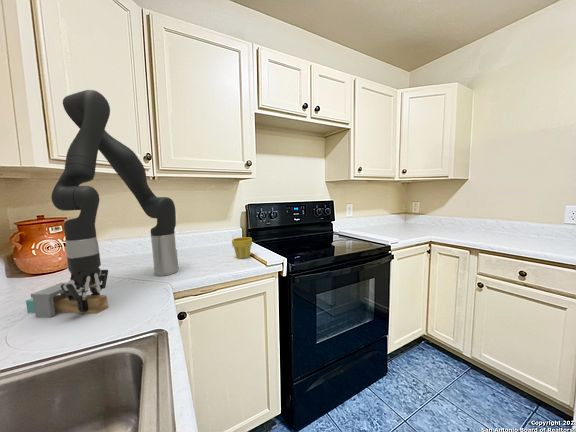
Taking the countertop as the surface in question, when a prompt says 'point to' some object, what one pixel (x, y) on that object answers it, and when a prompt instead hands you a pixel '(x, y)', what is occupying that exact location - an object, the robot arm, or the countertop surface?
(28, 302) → the block
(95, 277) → the robot arm
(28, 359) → the countertop surface
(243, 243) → the plant pot
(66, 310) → the rod
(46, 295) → the tunnel
